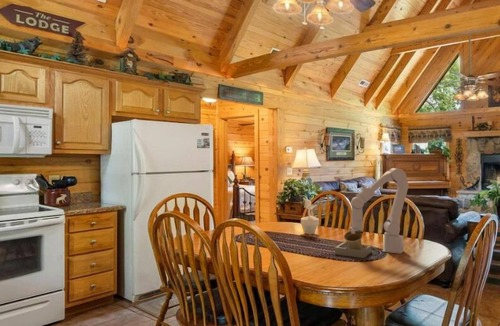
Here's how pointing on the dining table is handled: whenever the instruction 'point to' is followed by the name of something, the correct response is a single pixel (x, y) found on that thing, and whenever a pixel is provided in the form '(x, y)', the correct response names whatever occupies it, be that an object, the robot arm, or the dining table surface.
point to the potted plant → (309, 219)
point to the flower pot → (353, 240)
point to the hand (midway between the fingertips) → (356, 244)
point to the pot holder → (352, 251)
